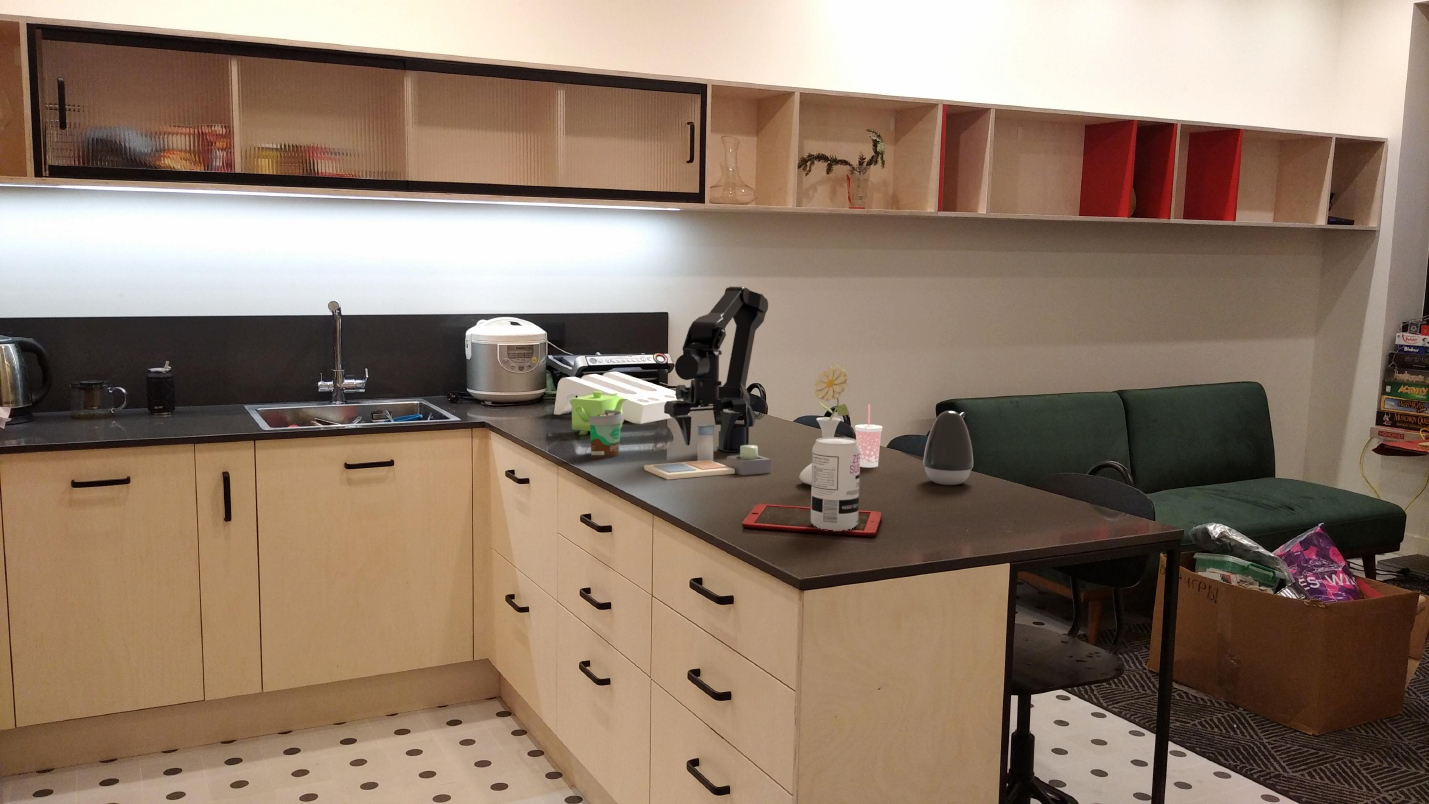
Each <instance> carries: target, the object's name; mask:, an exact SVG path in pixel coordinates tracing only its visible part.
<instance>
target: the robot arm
mask: <svg viewBox="0 0 1429 804" xmlns="http://www.w3.org/2000/svg"><path fill="white" fill-rule="evenodd" d="M768 310H769V301H768V299H767V298H766V297H765V296H764V294H763V293H758V292H755V291H753V290H751V289H749V288H747V287H745V286H729V287H726V288H725V290H724V294H723V295H722V296H721V297H720V299H719V300H718V301H717V303H715V305H714V307H712V309H711V310H710V311H709V312H708V313H707V314H705V315H701V316H698V318H696V319H695V320H694V321H692V323H691V324H690V326H689V328H688V331H687V334H686V337H685V340H684V343H683V346H682V349H681V350H682V354H681V355H680V356H679V357H678V358H677V359H676V361H675V364H674V371H675V374H677V376H678V377H679V379H682V380H683V381H690V385H689V387H687V386H686V385H685V384H677V385H676V386H675V391H676V392H675V394H676V399H677V401H667V402H666V403H665V405H664V413H666V414H669V415H670V417H673V418H672V419H674V420H675V421H676V423H677V424H678V426H679V429H680V432H681V436H682V437H683V441H684V443H685V445H686V446H687V447H688V446H690V444H691V439H692V437H691V433H692V416H689V415H690V414H689V413H691V412H705V411H712V412H713V418H714V419H713V420H714V425H715V426H720V430H719V431H718V446H717V447H716V448H717V450H719V451H723V452H726V453H740V446H742V445H750V442H749V441H750V428H752V427H754V426H755V423H756V415H755V413H754V411H753V408H752V407H751V403H750V402H751V397H750V395H749V392H748V390H747V379H748V374H749V369H750V363H751V359H752V358H751V357H752V351H753V346H754V341H755V335H756V330H757V329H759V327H760V326H761V325H763V323H764V322H765V317H766V313H767V312H768ZM731 320H733V322H734V323H735V332H734V336H733V337H734V338H733V342H732V347H731V354H730V358H729V365H728V370H727V375H726V381H725V383H724V384H723V385H722V381H721V380H720V356H721V355H722V354H723V353H722V350H721V346H722V344H723V342H724V340H725V338H726V336H727V332H726V327H727V325H728V324H730V322H731ZM681 400H683V401H681ZM688 414H689V415H688Z"/></svg>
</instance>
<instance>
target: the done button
mask: <svg viewBox="0 0 1429 804" xmlns="http://www.w3.org/2000/svg"><path fill="white" fill-rule="evenodd" d="M758 451H759V446H758V445H755V444H754V445H753V444H749V445H742V446H740V452H739V453H740V454H739V455H740V459H743V460H754V459H758V455H759V452H758Z"/></svg>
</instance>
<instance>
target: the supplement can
mask: <svg viewBox="0 0 1429 804" xmlns="http://www.w3.org/2000/svg"><path fill="white" fill-rule="evenodd" d="M811 450H812V452H811V453H812V455H811V463H812V485H811V486H810V487H811V491H810V492H811V496H810V497H811V499H810V500H811V501H810V523H811V524H812V525H813V527H815V526H816V527H817V528H816V527H815V528H816V529H819V528H821V529H820V530H822V529H828V530H833V531H832V532H843V531H842V530H845V531H849V530H848V529H850V530H853V529H854V527H856V526H857V525H859V510H860V509H859V508H860V506H859V505H860V503H859V502H860V477H861V476H860V475H861V474H860V470H861V467H860V449H859V446H858V444H857V439H853V438H850V437H849V438H848V437H835V436H834V437H828V438H822V437H821V438H817V439H815V443H814V444H813V447H812V448H811ZM852 528H853V529H852ZM828 530H827V531H828Z"/></svg>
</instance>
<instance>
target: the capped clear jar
mask: <svg viewBox="0 0 1429 804" xmlns="http://www.w3.org/2000/svg"><path fill="white" fill-rule="evenodd" d="M714 425H715V424H714ZM714 425H713V424H697V431H696V432H697V461H702V460H711V461H714V434H715V426H714Z"/></svg>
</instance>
